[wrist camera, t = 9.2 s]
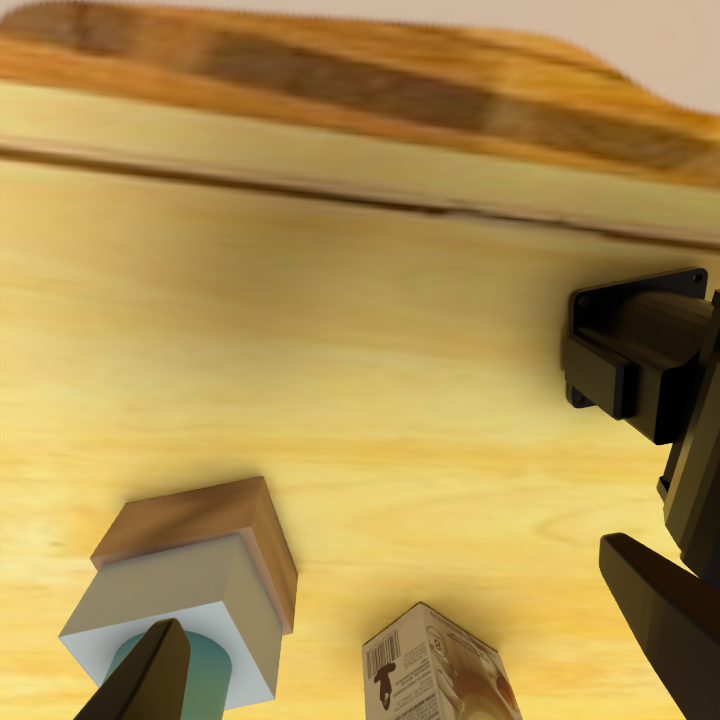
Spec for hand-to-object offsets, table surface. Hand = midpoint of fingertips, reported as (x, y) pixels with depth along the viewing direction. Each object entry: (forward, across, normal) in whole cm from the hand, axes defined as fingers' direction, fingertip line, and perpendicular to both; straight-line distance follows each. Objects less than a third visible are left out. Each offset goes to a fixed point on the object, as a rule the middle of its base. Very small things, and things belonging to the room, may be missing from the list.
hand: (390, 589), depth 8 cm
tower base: (+13, +10, +10) cm, 20 cm away
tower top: (+9, +10, +10) cm, 17 cm away
